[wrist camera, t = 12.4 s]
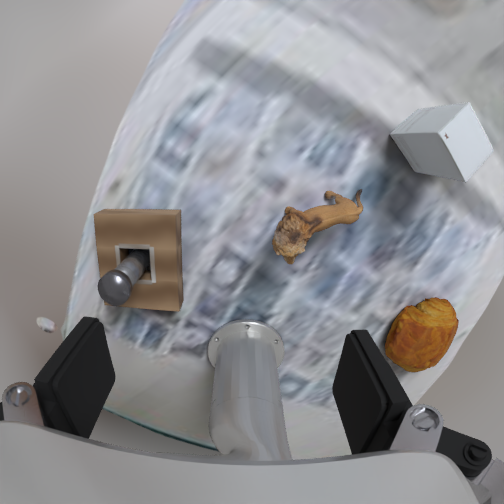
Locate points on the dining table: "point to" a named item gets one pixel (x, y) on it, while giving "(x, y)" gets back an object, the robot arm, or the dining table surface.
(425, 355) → the croissant
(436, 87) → the dining table surface
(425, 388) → the dining table surface
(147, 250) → the key peg
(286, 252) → the lion figurine
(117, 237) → the block
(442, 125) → the supplement box
